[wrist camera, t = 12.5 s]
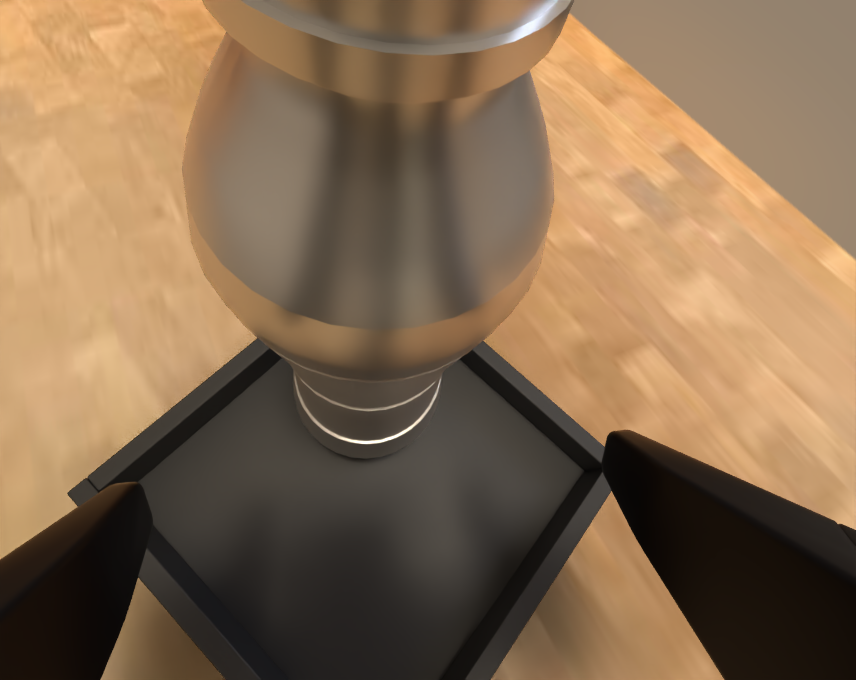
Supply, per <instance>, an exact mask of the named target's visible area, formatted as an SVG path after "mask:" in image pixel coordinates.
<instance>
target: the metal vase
mask: <svg viewBox="0 0 856 680" xmlns="http://www.w3.org/2000/svg"><path fill="white" fill-rule="evenodd" d="M202 1H203V3H204V5H205V7H206V9H207V10H208V11H209V12H210V13H211V14H212V16H213V17H214V18H215V19H216V20H217V21H218V23H219V24H220V25H221V26H222V27H223V28H224V29H225V31H226V33H225V35H224V37H223V39H222V42H221V44H220V46H219V48H218V50H217V52H216V54H215V56H214V58H213V60H212V62H211V65H210V67H209V69H208V72H207V74H206V77H205V79H204V82H203V84H202V86H201V89H200V93H199V96H198V100H197V103H196V106H195V110H194V113H193V116H192V120H191V123H190V127H189V130H188V133H187V137H186V143H185V151H184V158H183V166H182V172H183V180H184V188H185V197H186V205H187V213H188V220H189V228H190V235H191V243H192V245H193V248H194V250H195V253H196V255H197V258H198V260H199V263H200V265H201V268H202V270H203V273H204V275H205V276H206V278H207V279H208V281H209V282H210V283H211V285H212V286H213V288H214V289H215V290H216V292H217V293H218V295H219V296H220V297H221V299H222V300H223V302H224V303H225V305H226V306H227V307H228V308H229V309H230V310H231V311H232V312H233V313H234V314H235V315H236V317H237V318H238V319H239V320H240V321H241V323H242V324H243V325H244V326H245V327H246V328H247V329H248V330H250V331H251V332H252V333H253V334H254V335H255V336H256V337H257V338H259V339H260V340H261V341H262V342H263V343H264V344H265V345H266V346H268V347H269V348H270V349H272V350H273V351H274V352H275V353H277V354H278V355H279V356H280V357H282V358H283V359H284V360H285V361H286V362H288V363H289V364H290V365H291V367H292V368H293V388H294V397H295V402H296V407H297V410H298V413H299V415H300V417H301V420H302V422H303V424H304V425H305V426H306V428H307V429H308V431H309V432H310V434H311V435H312V436H313V437H314V438H315V439H317V440H318V441H319V442H320V443H321V444H322V445H323V446H325V447H327V448H329V449H330V450H332V451H334V452H336V453H338V454H342V455H345V456H348V457H352V458H363V459H368V458H377V457H383V456H386V455H389V454H392V453H395V452H397V451H398V450H400V449H402V448H404V447H405V446H407V445H409V444H410V443H411V442H412V441H413V440H415V439H416V438H417V437H418V436H419V435H420V434H421V433H422V432H423V430H424V429H425V428H426V426H427V425H428V424H429V422H430V420H431V418H432V416H433V414H434V412H435V410H436V407H437V403H438V400H439V396H440V391H441V382H442V373H443V372H444V370H445V369H446V368H448V367H449V366H450V365H452V364H453V363H454V362H456V361H457V360H459V359H460V358H461V357H463V356H464V355H465V354H467V353H469V352H470V351H471V350H472V349H473V348H475V347H476V346H477V345H478V344H479V343H481V342H482V341H483V340H484V339H486V338H487V337H488V336H489V335H490V334H492V332H493V331H494V330H495V329H496V328H497V327H498V326H499V325H500V324H501V323H502V322H503V321H504V320H505V319H506V318H507V317H508V316H509V315H510V314H511V312H512V311H513V310H514V308H515V307H516V306H517V305H518V303H519V302H520V301H521V299H522V298H523V297H524V296H525V294H526V293H527V292H528V290H529V288H530V286H531V284H532V281H533V279H534V277H535V275H536V273H537V271H538V268H539V266H540V264H541V260H542V255H543V251H544V246H545V241H546V237H547V232H548V227H549V222H550V217H551V212H552V208H553V203H554V179H553V167H552V161H551V155H550V149H549V143H548V137H547V131H546V125H545V121H544V117H543V113H542V110H541V106H540V102H539V98H538V95H537V92H536V89H535V86H534V82H533V79H532V76H531V73H530V70H531V69H532V68H533V67H534V66H535V65H536V64H537V63H538V62H539V61H540V60H541V59H543V58H544V57H545V56H546V55H547V54H548V53H549V51H550V49H551V48H552V46H553V44H554V43H555V41H556V39H557V38H558V36H559V35H560V33H561V31H562V28H563V26H564V23H565V21H566V19H567V16H568V14H569V11H570V9H571V7H572V4H573V2H574V0H202Z"/></svg>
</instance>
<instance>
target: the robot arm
mask: <svg viewBox="0 0 856 680" xmlns="http://www.w3.org/2000/svg"><path fill="white" fill-rule="evenodd" d="M601 466H602V471H603V474H604V476H605V478H606V480H607V482H608V484H609V486H610V488H611V490H612V492H613V494H614V496H615V498H616V500H617V502H618V504H619V506H620V508H621V510H622V512H623V514H624V516H625V518H626V520H627V522H628V524H629V526H630V528H631V530H632V532H633V534H634V535H635V537H636V539H637V541H638V543H639V544H640V546H641V548H642V549H643V551H644V553H645V554H646V556H647V557H648V559H649V561H650V562H651V564H652V565H653V567H654V568H655V570H656V572H657V573H658V575H659V576H660V578H661V580H662V581H663V583H664V584H665V586H666V588H667V589H668V591H669V592H670V594H671V596H672V597H673V599H674V600H675V602H676V603H677V605H678V607H679V608H680V610H681V611H682V613H683V615H684V616H685V618H686V619H687V621H688V623H689V624H690V626H691V627H692V629H693V631H694V632H695V634H696V635H697V637H698V638H699V640H700V642H701V643H702V645H703V646H704V648H705V650H706V651H707V653H708V654H709V656H710V658H711V659H712V661H713V662H714V664H715V665H716V667H717V669H718V670H719V672H720V673H721V675H722V677H723V678H724V680H856V530H854V529H852V528H850V527H847V526H845V525H843V524H837V523H836V522H835V521H834V520H831V519H829V518H827V517H825V516H822V515H820V514H818V513H816V512H813V511H811V510H809V509H807V508H804V507H802V506H800V505H798V504H795V503H793V502H791V501H789V500H786V499H784V498H782V497H780V496H777V495H775V494H773V493H771V492H768V491H766V490H764V489H762V488H759V487H757V486H755V485H753V484H750V483H748V482H746V481H744V480H741V479H739V478H737V477H735V476H732V475H730V474H728V473H726V472H723V471H721V470H719V469H717V468H714V467H712V466H710V465H708V464H705V463H703V462H701V461H699V460H696V459H694V458H692V457H690V456H687V455H685V454H683V453H681V452H678V451H676V450H674V449H672V448H669V447H667V446H665V445H663V444H660V443H658V442H656V441H654V440H651V439H649V438H647V437H645V436H642V435H640V434H638V433H636V432H633V431H631V430H620V431H613V432H611V433H609V435H608V436H607V440H606V444H605V449H604V453H603V458H602V463H601ZM152 528H153V516H152V513H151V510H150V507H149V504H148V501H147V498H146V494H145V491H144V489H143V487H142V485H141V484H140V483H138V482H127V483H117V484H113V485H110V486H108V487H107V488H105V489H104V490H102V491H101V492H99V493H98V494H96V495H95V496H94V497H92V498H91V499H89V500H88V501H86V502H85V503H83V504H82V505H80V506H79V507H77V508H76V509H74V510H73V511H71V512H70V513H68V514H67V515H65V516H64V517H63V518H61V519H60V520H58V521H57V522H55V523H54V524H52V525H51V526H49V527H48V528H46V529H45V530H43V531H42V532H40V533H39V534H37V535H36V536H34V537H33V538H32V539H30V540H29V541H27V542H26V543H24V544H23V545H21V546H20V547H18V548H17V549H15V550H14V551H12V552H11V553H9V554H8V555H6V556H5V557H3V558H2V559H1V560H0V680H100V679H101V677H102V675H103V672H104V670H105V667H106V665H107V662H108V660H109V658H110V655H111V653H112V650H113V648H114V646H115V643H116V641H117V638H118V636H119V633H120V631H121V628H122V626H123V623H124V620H125V617H126V614H127V611H128V608H129V605H130V602H131V599H132V595H133V592H134V589H135V585H136V582H137V579H138V575H139V572H140V569H141V565H142V562H143V559H144V555H145V552H146V549H147V546H148V542H149V539H150V536H151V532H152Z"/></svg>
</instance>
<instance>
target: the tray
mask: <svg viewBox="0 0 856 680" xmlns="http://www.w3.org/2000/svg"><path fill="white" fill-rule="evenodd" d="M604 449H605V447H604V446H603V445H602V444H601V443H599V442H598V441H597V440H596V439H595V438H594V437H593V436H591V435H590V434H589V433H588V432H587V431H586V430H584V429H583V428H582V427H581V426H580V425H579V424H578V423H576V422H575V421H574V420H573V419H572V418H571V417H570V416H568V415H567V414H566V413H565V412H564V411H563V410H562V409H560V408H559V407H558V406H557V405H556V404H555V403H554V402H552V401H551V400H550V399H549V398H548V397H547V396H546V395H544V394H543V393H542V392H541V391H540V390H539V389H538V388H536V387H535V386H534V385H533V384H532V383H531V382H530V381H528V380H527V379H526V378H525V377H524V376H523V375H522V374H520V373H519V372H518V371H517V370H516V369H515V368H514V367H512V366H511V365H510V364H509V363H508V362H507V361H506V360H504V359H503V358H502V357H501V356H500V355H499V354H497V353H496V352H495V351H494V350H493V349H492V348H491V347H489V346H488V345H487V344H486V343H485V342H484V341H482V342H481V343H479V344H478V345H477V346H476V347H475V348H473V349H472V350H471V351H470V352H469V353H467V354H465V355H464V356H463V357H461V358H460V359H459V360H457V361H456V362H454V363H453V364H452V365H450V366H449V367H448V368H446V369H445V370H444V372H443V373H442V382H441V391H440V396H439V400H438V403H437V407H436V410H435V412H434V414H433V416H432V418H431V420H430V422H429V424H428V425H427V426H426V428H425V429H424V430H423V432H422V433H421V434H420V435H419V436H418V437H417V438H416V439H415V440H413V441H412V442H411V443H410V444H409V445H407V446H405V447H404V448H402V449H400V450H398V451H397V452H395V453H392V454H389V455H386V456H383V457H377V458H368V459H363V458H352V457H348V456H345V455H342V454H338V453H336V452H334V451H332V450H330V449H329V448H327V447H325V446H323V445H322V444H321V443H320V442H319V441H318V440H317V439H315V438H314V437H313V436H312V435H311V434H310V432H309V431H308V429H307V428H306V426H305V425H304V424H303V422H302V420H301V417H300V415H299V413H298V410H297V407H296V402H295V397H294V388H293V368H292V367H291V365H290V364H289V363H288V362H286V361H285V360H284V359H283V358H282V357H280V356H279V355H278V354H277V353H275V352H274V351H273V350H272V349H270V348H269V347H268V346H266V345H265V344H264V343H263V342H262V341H261V340H260V339H259V338H257V339H256V340H255V341H254V342H252V343H251V344H250V345H249V346H247V347H246V348H245V349H244V350H243V351H241V352H240V353H239V354H238V355H236V356H235V357H234V358H233V359H231V360H230V361H229V362H228V363H227V364H225V365H224V366H223V367H222V368H220V369H219V370H218V371H217V372H215V373H214V374H213V375H212V376H211V377H209V378H208V379H207V380H206V381H204V382H203V383H202V384H201V385H200V386H198V387H197V388H196V389H195V390H193V391H192V392H191V393H190V394H188V395H187V396H186V397H185V398H184V399H182V400H181V401H180V402H179V403H177V404H176V405H175V406H174V407H172V408H171V409H170V410H169V411H168V412H166V413H165V414H164V415H163V416H161V417H160V418H159V419H158V420H156V421H155V422H154V423H153V424H152V425H150V426H149V427H148V428H147V429H145V430H144V431H143V432H142V433H141V434H139V435H138V436H137V437H136V438H134V439H133V440H132V441H131V442H129V443H128V444H127V445H126V446H125V447H123V448H122V449H121V450H120V451H118V452H117V453H116V454H115V455H113V456H112V457H111V458H110V459H109V460H107V461H106V462H105V463H104V464H102V465H101V466H100V467H99V468H97V469H96V470H95V471H94V472H93V473H91V474H90V475H89V476H88V478H86V479H84V480H83V481H81V482H80V483H79V484H78V485H76V486H75V487H74V488H73V489H72V490H70V491H69V492H68V493H67V494H68V495H69V497H70V498H71V499H72V500H73V501H74V502H75V504H76V505H77V506H78V507H79V506H80V505H82V504H83V503H85V502H86V501H88V500H89V499H91V498H92V497H94V496H95V495H96V494H98V493H99V492H101V491H102V490H104V489H105V488H107V487H108V486H110V485H113V484H117V483H127V482H138V483H140V484H141V485H142V487H143V489H144V491H145V494H146V498H147V501H148V504H149V507H150V510H151V513H152V516H153V528H152V532H151V536H150V539H149V542H148V546H147V549H146V552H145V555H144V559H143V562H142V565H141V569H140V572H139V575H138V577H139V578H140V580H141V581H142V582H143V583H144V584H145V586H146V587H147V588H148V589H149V590H150V591H151V593H152V594H153V595H154V596H155V597H156V598H157V600H158V601H159V602H160V603H161V604H162V605H163V607H164V608H165V609H166V610H167V611H168V612H169V614H170V615H171V616H172V617H173V618H174V619H175V621H176V622H177V623H178V624H179V625H180V627H181V628H182V629H183V630H184V631H185V632H186V634H187V635H188V636H189V637H190V638H191V639H192V641H193V642H194V643H195V644H196V645H197V646H198V648H199V649H200V650H201V651H202V652H203V653H204V655H205V656H206V657H207V658H208V659H209V660H210V662H211V663H212V664H213V665H214V666H215V668H216V669H217V670H218V671H219V672H220V673H221V675H222V676H223V677H224V678H225V679H226V680H491V678H492V677H493V675H494V673H495V672H496V670H497V669H498V667H499V666H500V664H501V663H502V661H503V659H504V658H505V656H506V655H507V653H508V652H509V650H510V648H511V647H512V645H513V644H514V642H515V641H516V639H517V638H518V636H519V634H520V633H521V631H522V630H523V628H524V627H525V625H526V623H527V622H528V620H529V619H530V617H531V616H532V614H533V613H534V611H535V609H536V608H537V606H538V605H539V603H540V602H541V600H542V598H543V597H544V595H545V594H546V592H547V591H548V589H549V588H550V586H551V584H552V583H553V581H554V580H555V578H556V577H557V575H558V574H559V572H560V570H561V569H562V567H563V566H564V564H565V563H566V561H567V559H568V558H569V556H570V555H571V553H572V552H573V550H574V549H575V547H576V545H577V544H578V542H579V541H580V539H581V538H582V536H583V534H584V533H585V531H586V530H587V528H588V527H589V525H590V524H591V522H592V520H593V519H594V517H595V516H596V514H597V513H598V511H599V509H600V508H601V506H602V505H603V503H604V502H605V500H606V499H607V497H608V495H609V494H610V492H611V491H612V490H611V488H610V486H609V484H608V482H607V480H606V478H605V476H604V474H603V471H602V466H601V463H602V458H603V453H604Z"/></svg>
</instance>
